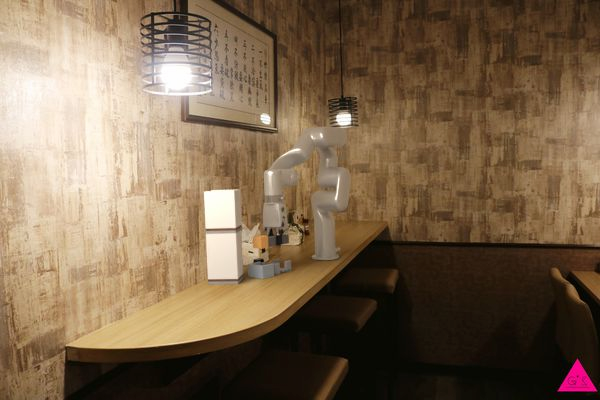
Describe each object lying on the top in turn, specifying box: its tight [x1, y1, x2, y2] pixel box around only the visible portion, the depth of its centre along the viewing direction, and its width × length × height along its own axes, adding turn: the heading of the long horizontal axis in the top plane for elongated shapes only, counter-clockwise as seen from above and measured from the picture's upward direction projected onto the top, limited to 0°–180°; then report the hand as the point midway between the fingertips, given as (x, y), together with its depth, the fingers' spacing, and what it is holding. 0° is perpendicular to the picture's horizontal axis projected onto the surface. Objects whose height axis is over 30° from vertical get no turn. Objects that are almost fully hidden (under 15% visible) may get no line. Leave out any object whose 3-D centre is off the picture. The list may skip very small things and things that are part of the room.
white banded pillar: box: [203, 188, 245, 286], centre depth 196 cm, size 11×11×35 cm
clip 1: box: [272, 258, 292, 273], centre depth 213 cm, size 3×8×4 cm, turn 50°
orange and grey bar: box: [252, 233, 290, 250], centre depth 208 cm, size 17×5×5 cm, turn 140°
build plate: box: [252, 257, 265, 263], centre depth 221 cm, size 12×7×5 cm, turn 148°
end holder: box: [247, 262, 275, 280], centre depth 204 cm, size 6×8×5 cm
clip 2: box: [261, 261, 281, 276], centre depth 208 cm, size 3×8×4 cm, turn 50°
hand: (275, 244), depth 210 cm, fingers closed on orange and grey bar, 3 cm apart
